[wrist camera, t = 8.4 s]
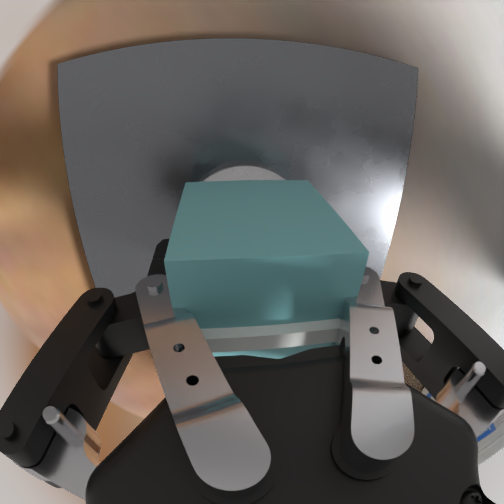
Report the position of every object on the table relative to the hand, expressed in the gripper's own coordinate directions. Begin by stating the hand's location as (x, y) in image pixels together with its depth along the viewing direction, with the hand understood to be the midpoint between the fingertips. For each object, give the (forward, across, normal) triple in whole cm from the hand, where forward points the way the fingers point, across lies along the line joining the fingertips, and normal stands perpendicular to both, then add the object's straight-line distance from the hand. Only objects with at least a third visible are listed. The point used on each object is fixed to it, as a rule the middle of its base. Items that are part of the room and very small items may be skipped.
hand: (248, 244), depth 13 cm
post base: (+4, 0, 0) cm, 4 cm away
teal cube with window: (+1, 0, 0) cm, 1 cm away
